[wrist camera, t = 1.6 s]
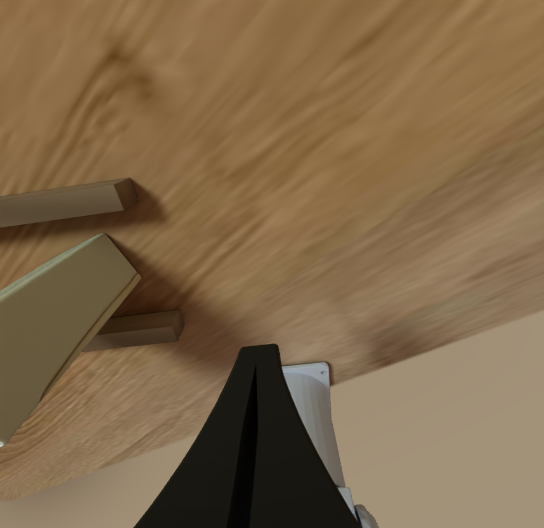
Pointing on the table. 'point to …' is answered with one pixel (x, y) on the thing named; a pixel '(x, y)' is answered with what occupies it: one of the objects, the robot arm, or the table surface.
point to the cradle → (82, 204)
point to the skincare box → (55, 322)
